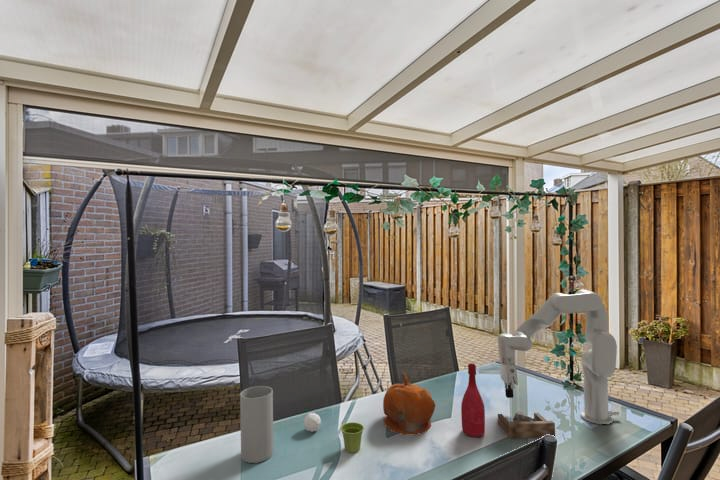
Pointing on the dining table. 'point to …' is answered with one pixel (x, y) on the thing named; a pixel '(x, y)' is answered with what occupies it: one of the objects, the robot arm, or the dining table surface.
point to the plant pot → (352, 436)
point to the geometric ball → (312, 422)
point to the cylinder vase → (256, 424)
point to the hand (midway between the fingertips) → (509, 397)
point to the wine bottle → (473, 407)
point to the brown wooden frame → (527, 427)
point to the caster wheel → (522, 418)
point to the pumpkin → (408, 408)
